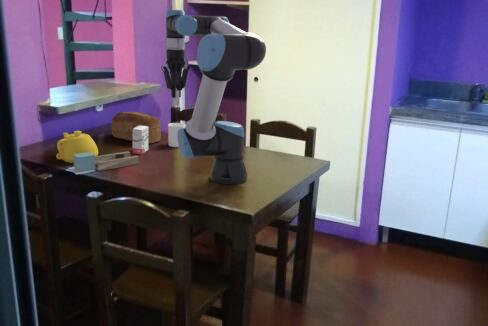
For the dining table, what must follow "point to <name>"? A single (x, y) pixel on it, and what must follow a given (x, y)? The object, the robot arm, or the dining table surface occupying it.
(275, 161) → the dining table surface
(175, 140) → the mug
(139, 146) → the ink box
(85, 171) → the pad
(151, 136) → the bread
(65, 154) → the teapot
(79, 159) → the block
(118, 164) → the chute
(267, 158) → the dining table surface
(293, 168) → the dining table surface
